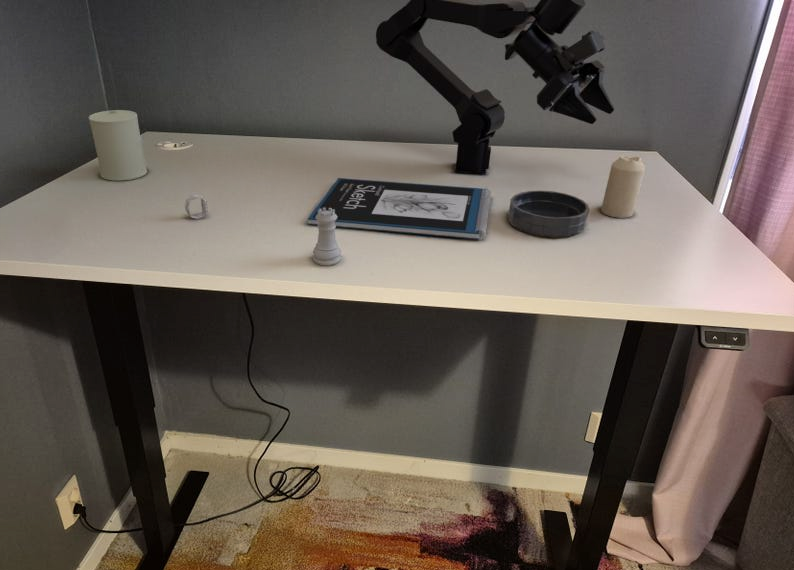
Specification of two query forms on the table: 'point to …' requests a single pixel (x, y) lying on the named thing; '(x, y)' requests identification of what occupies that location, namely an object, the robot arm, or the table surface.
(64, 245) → the table surface
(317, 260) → the rook chess piece
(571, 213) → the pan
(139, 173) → the can
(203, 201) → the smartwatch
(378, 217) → the sketchbook
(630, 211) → the candle
